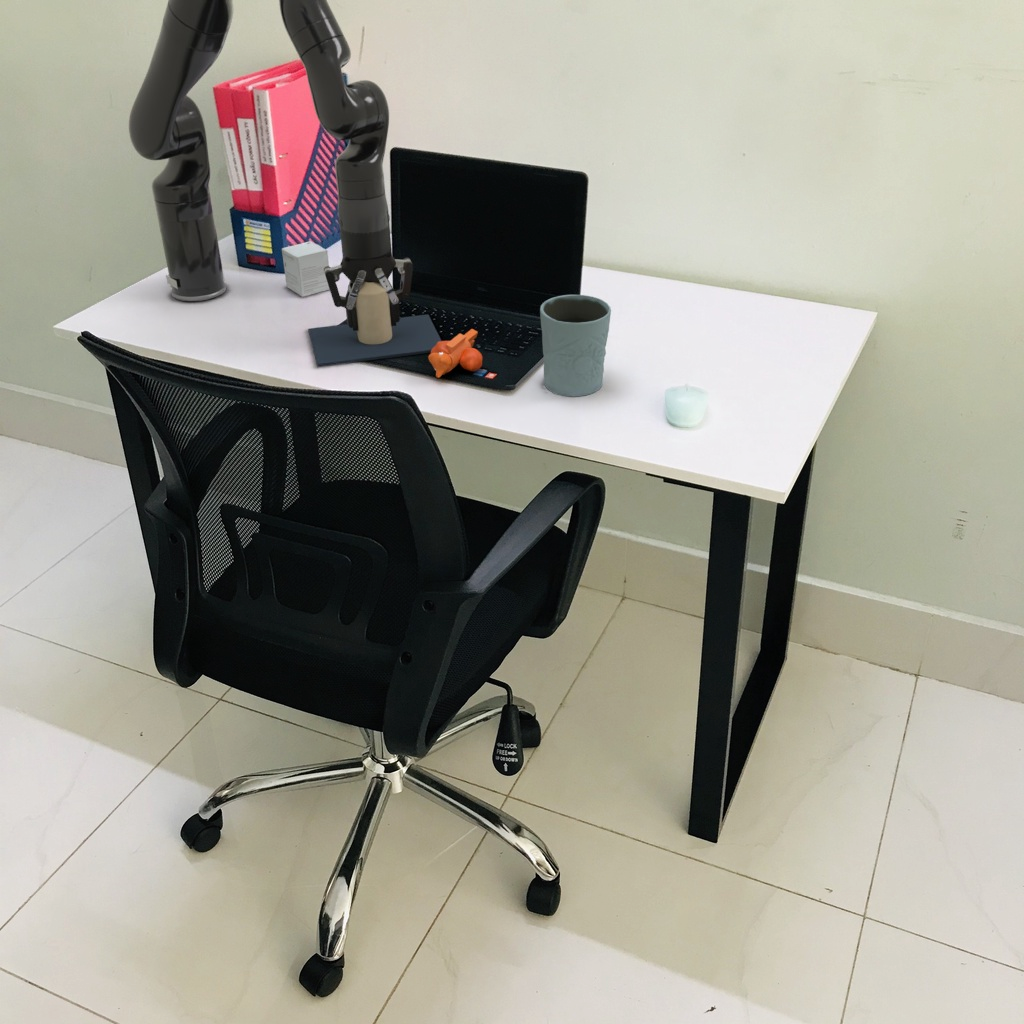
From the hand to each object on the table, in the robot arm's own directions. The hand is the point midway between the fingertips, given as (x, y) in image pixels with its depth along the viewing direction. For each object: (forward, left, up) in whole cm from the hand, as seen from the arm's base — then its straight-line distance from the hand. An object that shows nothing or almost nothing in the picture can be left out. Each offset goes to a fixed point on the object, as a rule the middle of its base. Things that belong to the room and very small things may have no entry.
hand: (373, 326), depth 178 cm
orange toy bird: (+14, +11, -3) cm, 18 cm away
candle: (0, 0, -2) cm, 2 cm away
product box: (-26, -8, -3) cm, 27 cm away
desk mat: (0, 0, -2) cm, 2 cm away
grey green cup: (+24, +26, -3) cm, 35 cm away
